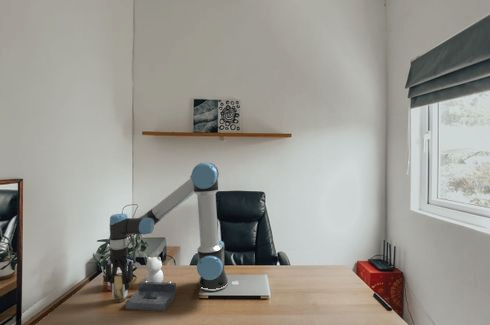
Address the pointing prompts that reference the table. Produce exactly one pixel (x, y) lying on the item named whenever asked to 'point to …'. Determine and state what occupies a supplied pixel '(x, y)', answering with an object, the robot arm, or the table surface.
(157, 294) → the jig
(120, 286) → the sleeve
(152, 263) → the cat figurine
